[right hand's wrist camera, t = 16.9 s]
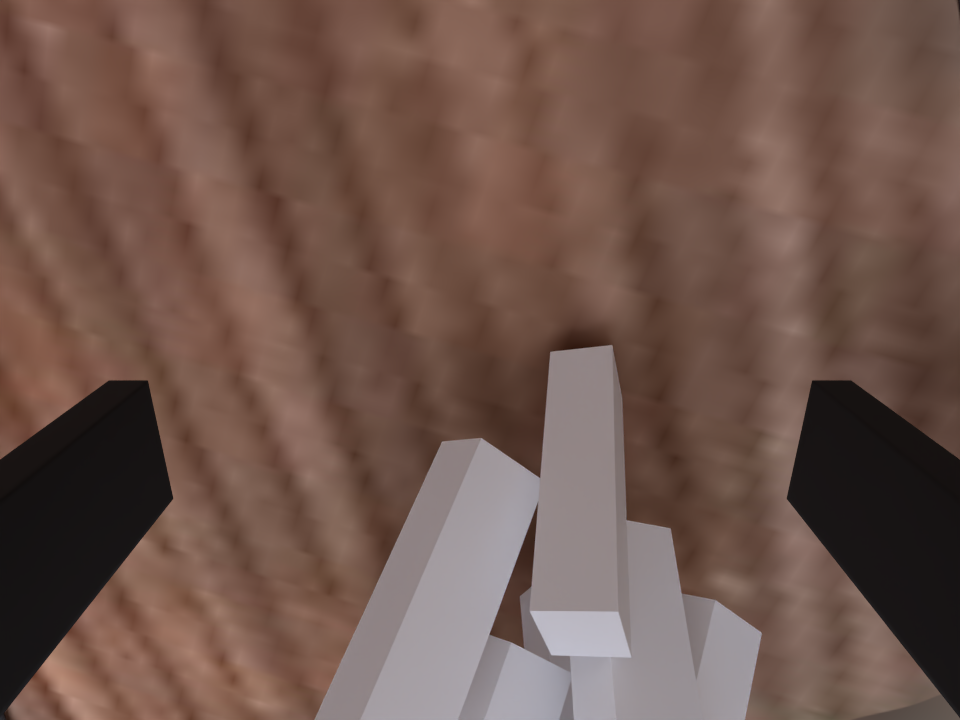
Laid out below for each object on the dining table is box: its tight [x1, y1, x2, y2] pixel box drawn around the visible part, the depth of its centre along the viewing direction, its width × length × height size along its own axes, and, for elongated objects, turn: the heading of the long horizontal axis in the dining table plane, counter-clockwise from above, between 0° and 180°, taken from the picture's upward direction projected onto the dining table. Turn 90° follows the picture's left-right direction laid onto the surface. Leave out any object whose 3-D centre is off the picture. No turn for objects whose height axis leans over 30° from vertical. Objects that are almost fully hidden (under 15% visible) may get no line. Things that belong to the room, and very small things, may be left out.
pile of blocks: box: [315, 345, 762, 720], centre depth 40 cm, size 35×30×35 cm
